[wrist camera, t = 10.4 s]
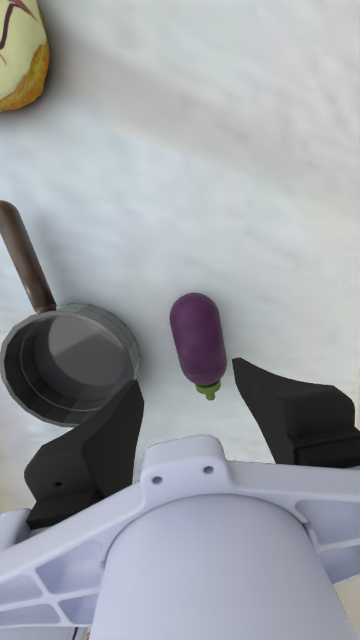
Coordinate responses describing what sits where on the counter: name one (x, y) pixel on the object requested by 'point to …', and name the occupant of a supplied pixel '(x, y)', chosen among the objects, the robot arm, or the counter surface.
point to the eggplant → (199, 341)
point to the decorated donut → (21, 53)
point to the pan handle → (25, 258)
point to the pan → (68, 362)
